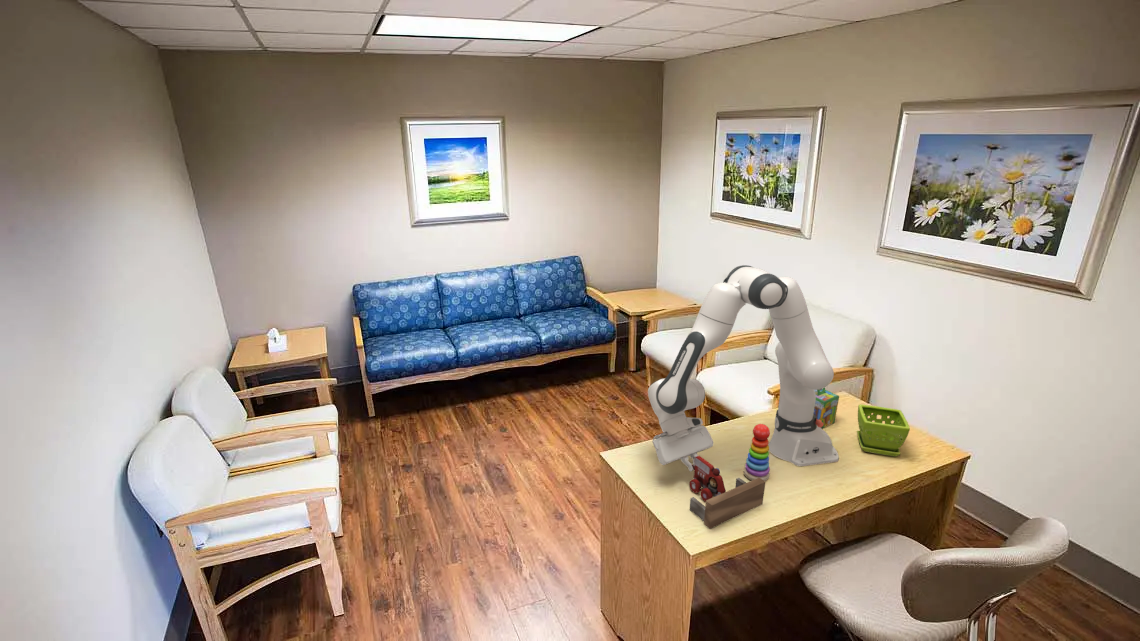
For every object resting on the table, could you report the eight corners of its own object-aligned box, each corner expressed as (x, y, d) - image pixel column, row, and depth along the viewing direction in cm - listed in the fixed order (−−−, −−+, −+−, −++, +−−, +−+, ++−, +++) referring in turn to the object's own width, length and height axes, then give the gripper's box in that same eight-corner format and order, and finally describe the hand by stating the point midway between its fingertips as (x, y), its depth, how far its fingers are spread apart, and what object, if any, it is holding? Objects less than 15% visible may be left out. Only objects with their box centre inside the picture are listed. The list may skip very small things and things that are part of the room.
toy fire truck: (712, 509, 162) (715, 479, 159) (685, 486, 172) (687, 457, 169) (730, 501, 165) (733, 472, 162) (702, 479, 175) (704, 451, 172)
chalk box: (821, 429, 203) (827, 394, 198) (799, 419, 210) (804, 384, 205) (835, 422, 208) (842, 387, 203) (814, 412, 215) (819, 378, 210)
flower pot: (903, 461, 184) (911, 428, 179) (857, 454, 188) (863, 421, 184) (894, 440, 196) (901, 408, 192) (851, 433, 200) (857, 402, 196)
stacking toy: (740, 468, 181) (746, 417, 175) (764, 468, 181) (771, 418, 175) (746, 482, 174) (753, 431, 167) (772, 483, 174) (779, 431, 167)
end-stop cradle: (687, 510, 162) (689, 487, 159) (739, 487, 172) (741, 465, 169) (709, 529, 154) (712, 505, 151) (762, 504, 164) (765, 481, 161)
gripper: (655, 434, 170) (673, 477, 165) (705, 417, 179) (724, 457, 175) (645, 439, 175) (663, 482, 170) (695, 423, 184) (713, 462, 180)
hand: (694, 469), depth 172 cm, fingers closed
